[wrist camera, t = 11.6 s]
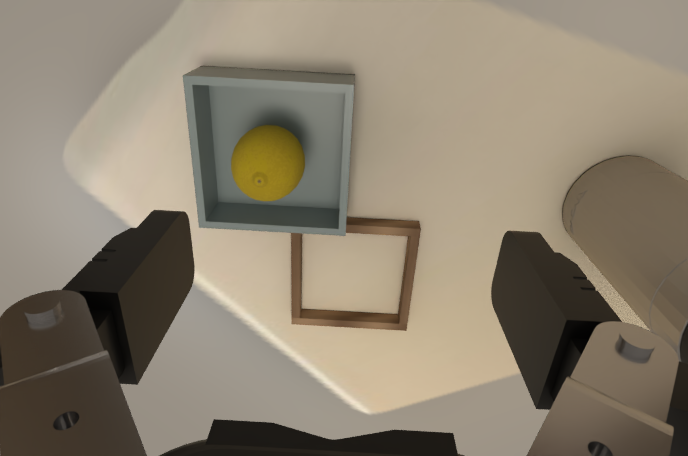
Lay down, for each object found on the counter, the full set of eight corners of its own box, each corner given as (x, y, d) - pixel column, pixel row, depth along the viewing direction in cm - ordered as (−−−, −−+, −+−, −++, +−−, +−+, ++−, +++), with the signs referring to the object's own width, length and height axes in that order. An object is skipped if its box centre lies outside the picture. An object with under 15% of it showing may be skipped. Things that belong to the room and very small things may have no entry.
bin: (354, 74, 37) (354, 85, 33) (346, 212, 42) (345, 235, 38) (201, 65, 37) (182, 75, 33) (214, 205, 42) (199, 227, 38)
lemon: (294, 187, 41) (281, 229, 34) (235, 161, 40) (208, 198, 33) (320, 132, 38) (311, 163, 31) (257, 102, 38) (234, 128, 30)
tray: (418, 221, 43) (420, 229, 41) (405, 321, 48) (406, 330, 47) (293, 214, 43) (291, 221, 41) (293, 314, 48) (291, 324, 47)
